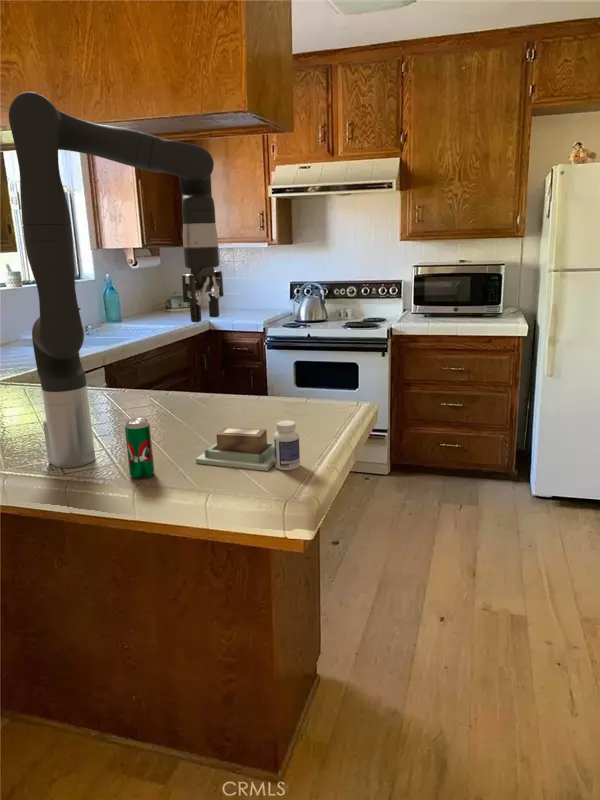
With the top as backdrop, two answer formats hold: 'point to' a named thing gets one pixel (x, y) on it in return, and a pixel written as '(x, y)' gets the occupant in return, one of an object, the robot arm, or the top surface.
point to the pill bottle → (286, 446)
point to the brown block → (242, 440)
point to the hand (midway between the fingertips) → (205, 319)
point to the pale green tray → (239, 458)
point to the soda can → (139, 448)
